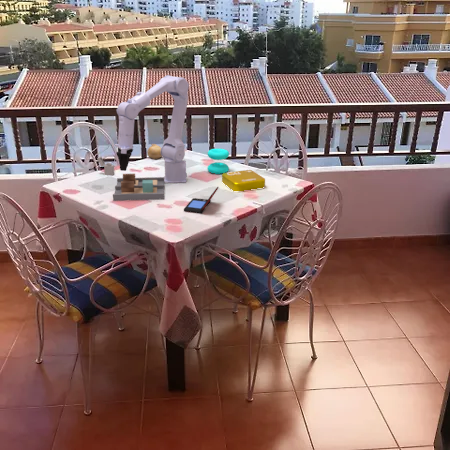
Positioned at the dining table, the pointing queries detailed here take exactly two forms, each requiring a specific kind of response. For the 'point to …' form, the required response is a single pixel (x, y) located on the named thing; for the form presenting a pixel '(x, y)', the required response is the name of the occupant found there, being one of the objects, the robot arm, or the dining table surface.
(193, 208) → the handheld game console
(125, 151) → the robot arm
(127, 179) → the broken strip front
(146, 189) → the teal cube
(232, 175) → the element tile
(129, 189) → the oak strip
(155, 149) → the onion
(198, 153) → the dining table surface
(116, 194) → the slate board
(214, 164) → the donuts
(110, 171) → the lighter
